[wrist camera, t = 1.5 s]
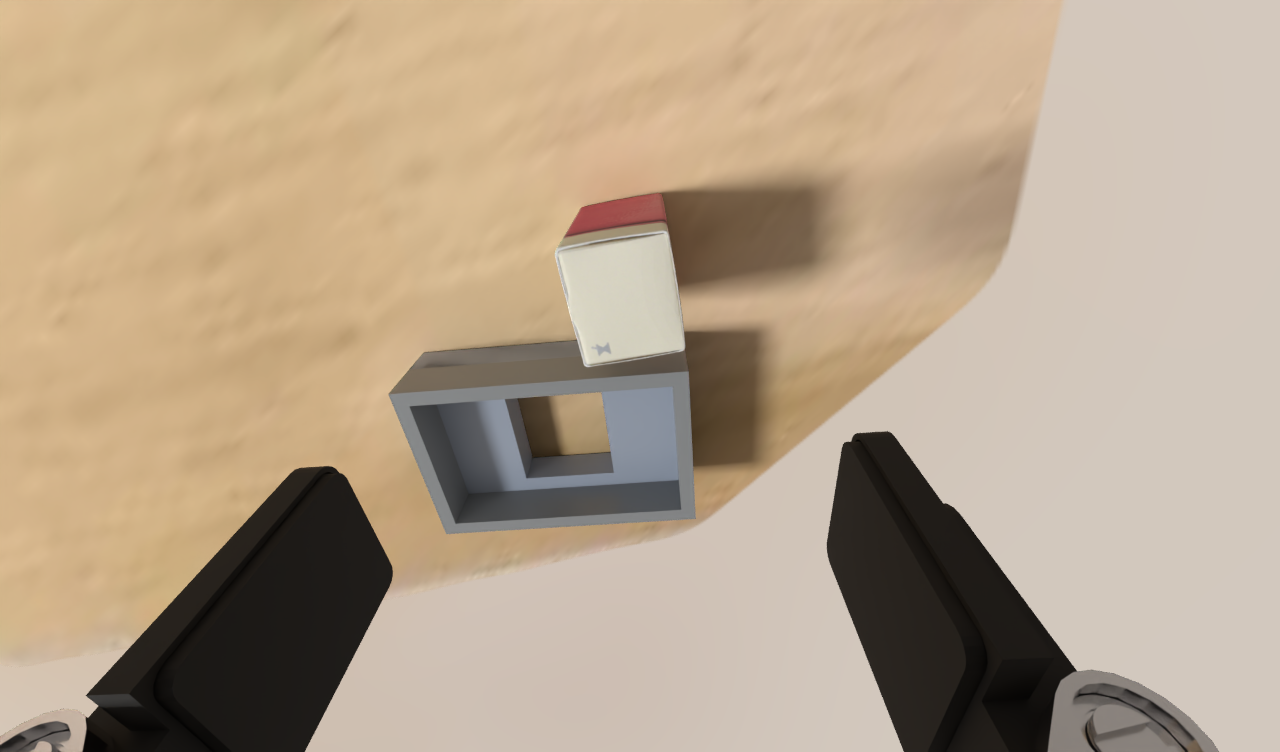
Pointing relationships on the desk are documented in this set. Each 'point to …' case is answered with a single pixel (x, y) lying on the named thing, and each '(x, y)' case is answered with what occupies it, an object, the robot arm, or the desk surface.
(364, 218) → the desk surface
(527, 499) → the walled box
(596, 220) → the small box
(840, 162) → the desk surface
